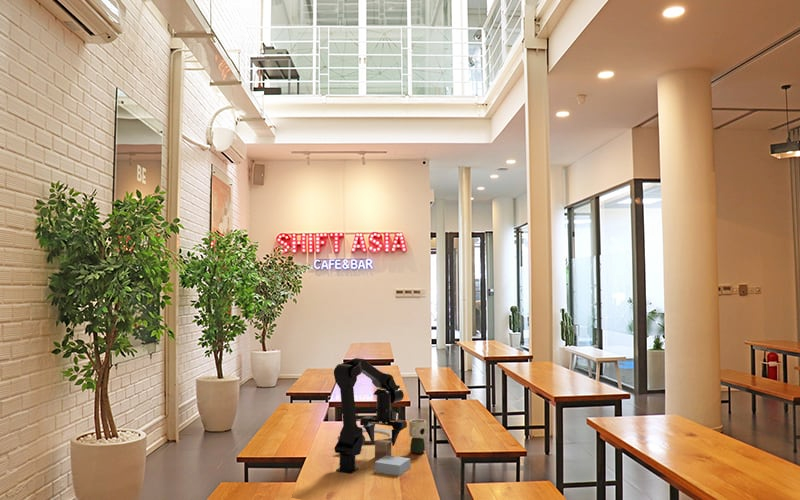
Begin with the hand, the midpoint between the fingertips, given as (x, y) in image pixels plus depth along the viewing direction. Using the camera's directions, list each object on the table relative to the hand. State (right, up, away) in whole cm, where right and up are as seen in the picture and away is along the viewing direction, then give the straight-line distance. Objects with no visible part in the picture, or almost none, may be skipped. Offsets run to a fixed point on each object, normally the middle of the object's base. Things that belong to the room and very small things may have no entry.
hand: (383, 444), depth 250 cm
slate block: (+4, -5, -17) cm, 19 cm away
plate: (-8, -7, +31) cm, 33 cm away
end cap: (-13, -6, +8) cm, 16 cm away
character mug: (+14, -6, +7) cm, 17 cm away
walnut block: (0, -5, 0) cm, 5 cm away
